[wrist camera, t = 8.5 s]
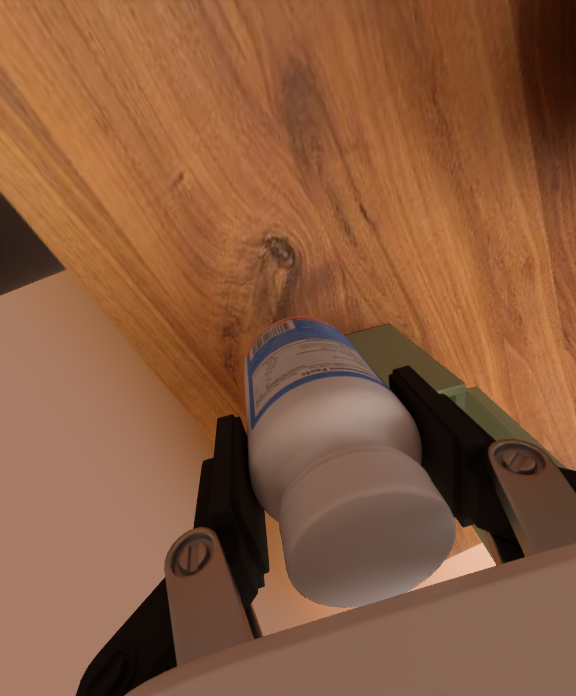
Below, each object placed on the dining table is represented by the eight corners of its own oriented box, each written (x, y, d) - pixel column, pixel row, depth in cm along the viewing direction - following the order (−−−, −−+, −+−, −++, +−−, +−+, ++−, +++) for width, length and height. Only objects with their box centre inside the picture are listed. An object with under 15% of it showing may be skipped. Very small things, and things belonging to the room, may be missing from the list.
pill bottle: (338, 411, 18) (440, 620, 9) (239, 407, 17) (241, 639, 8) (361, 316, 15) (526, 466, 7) (249, 306, 14) (268, 466, 6)
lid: (651, 815, 14) (671, 812, 14) (784, 698, 9) (817, 693, 9) (460, 506, 28) (469, 505, 28) (465, 388, 23) (477, 385, 23)
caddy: (283, 445, 39) (303, 546, 28) (258, 356, 34) (270, 435, 22) (396, 415, 40) (461, 501, 28) (389, 323, 35) (466, 383, 23)
